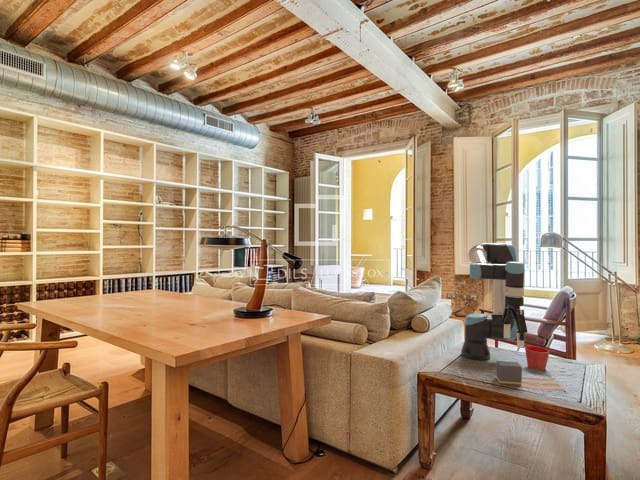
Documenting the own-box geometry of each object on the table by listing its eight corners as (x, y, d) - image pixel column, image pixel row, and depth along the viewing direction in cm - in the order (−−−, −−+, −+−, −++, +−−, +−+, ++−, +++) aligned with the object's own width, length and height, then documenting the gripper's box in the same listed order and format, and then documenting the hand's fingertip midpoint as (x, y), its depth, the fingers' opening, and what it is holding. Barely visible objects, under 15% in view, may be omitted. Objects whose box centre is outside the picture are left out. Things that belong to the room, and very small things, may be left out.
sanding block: (496, 377, 174) (496, 360, 173) (517, 379, 172) (517, 362, 172) (499, 382, 168) (500, 365, 168) (521, 384, 166) (521, 366, 166)
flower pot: (542, 364, 194) (542, 346, 194) (553, 372, 184) (553, 352, 183) (521, 363, 196) (521, 345, 195) (530, 371, 185) (531, 352, 184)
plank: (493, 376, 177) (493, 374, 177) (553, 381, 172) (553, 379, 172) (500, 387, 164) (500, 385, 164) (565, 393, 159) (565, 391, 159)
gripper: (494, 291, 179) (494, 334, 180) (518, 301, 155) (517, 351, 155) (510, 291, 179) (509, 334, 180) (537, 301, 154) (536, 351, 155)
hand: (513, 342), depth 167 cm, fingers open, 13 cm apart
